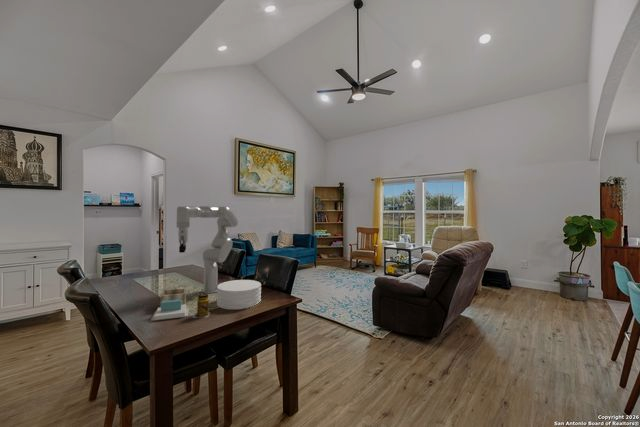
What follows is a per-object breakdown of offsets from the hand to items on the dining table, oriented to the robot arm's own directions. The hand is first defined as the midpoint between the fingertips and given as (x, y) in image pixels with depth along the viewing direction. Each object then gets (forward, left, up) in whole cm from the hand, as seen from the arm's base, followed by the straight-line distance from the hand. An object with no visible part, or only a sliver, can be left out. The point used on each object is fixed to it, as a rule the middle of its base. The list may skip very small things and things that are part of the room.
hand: (182, 251), depth 179 cm
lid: (+4, +22, -33) cm, 40 cm away
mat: (+4, +22, -33) cm, 40 cm away
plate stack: (-35, +12, -34) cm, 50 cm away
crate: (+4, +7, -33) cm, 34 cm away
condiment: (-12, +29, -34) cm, 46 cm away
